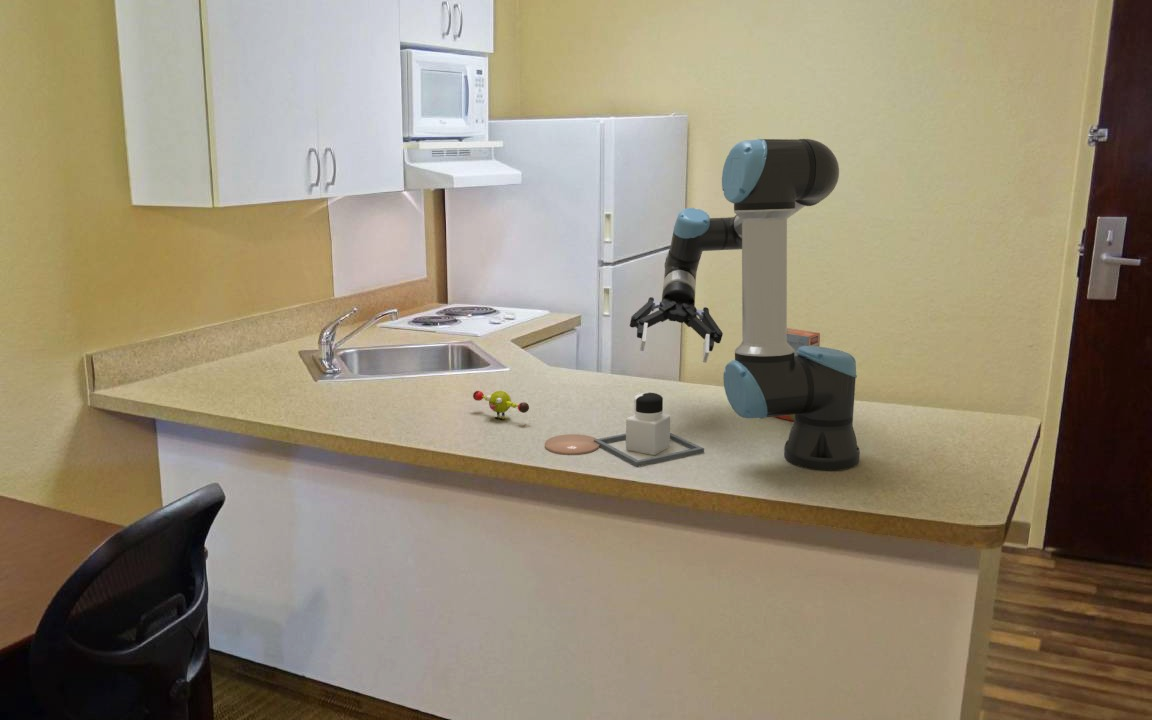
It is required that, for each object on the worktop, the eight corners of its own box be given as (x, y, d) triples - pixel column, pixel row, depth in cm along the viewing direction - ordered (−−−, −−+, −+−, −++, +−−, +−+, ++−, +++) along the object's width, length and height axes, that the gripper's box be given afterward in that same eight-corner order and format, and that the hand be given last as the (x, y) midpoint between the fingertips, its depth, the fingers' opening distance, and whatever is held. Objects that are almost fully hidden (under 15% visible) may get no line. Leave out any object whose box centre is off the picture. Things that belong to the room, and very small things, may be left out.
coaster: (610, 448, 206) (610, 445, 206) (561, 458, 200) (561, 455, 200) (582, 433, 216) (582, 431, 216) (535, 442, 210) (535, 439, 210)
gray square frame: (703, 452, 203) (704, 448, 203) (636, 467, 195) (636, 462, 194) (658, 431, 217) (658, 427, 217) (593, 444, 209) (593, 439, 209)
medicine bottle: (670, 446, 207) (671, 393, 204) (654, 456, 201) (655, 401, 198) (641, 441, 211) (641, 388, 208) (625, 450, 205) (625, 396, 202)
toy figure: (465, 414, 232) (464, 387, 230) (482, 409, 236) (481, 382, 234) (518, 429, 220) (517, 400, 218) (535, 423, 224) (534, 395, 222)
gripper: (728, 316, 222) (728, 375, 206) (622, 297, 223) (613, 354, 206) (736, 290, 218) (736, 348, 201) (627, 271, 218) (619, 327, 202)
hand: (674, 351), depth 204 cm, fingers open, 13 cm apart
